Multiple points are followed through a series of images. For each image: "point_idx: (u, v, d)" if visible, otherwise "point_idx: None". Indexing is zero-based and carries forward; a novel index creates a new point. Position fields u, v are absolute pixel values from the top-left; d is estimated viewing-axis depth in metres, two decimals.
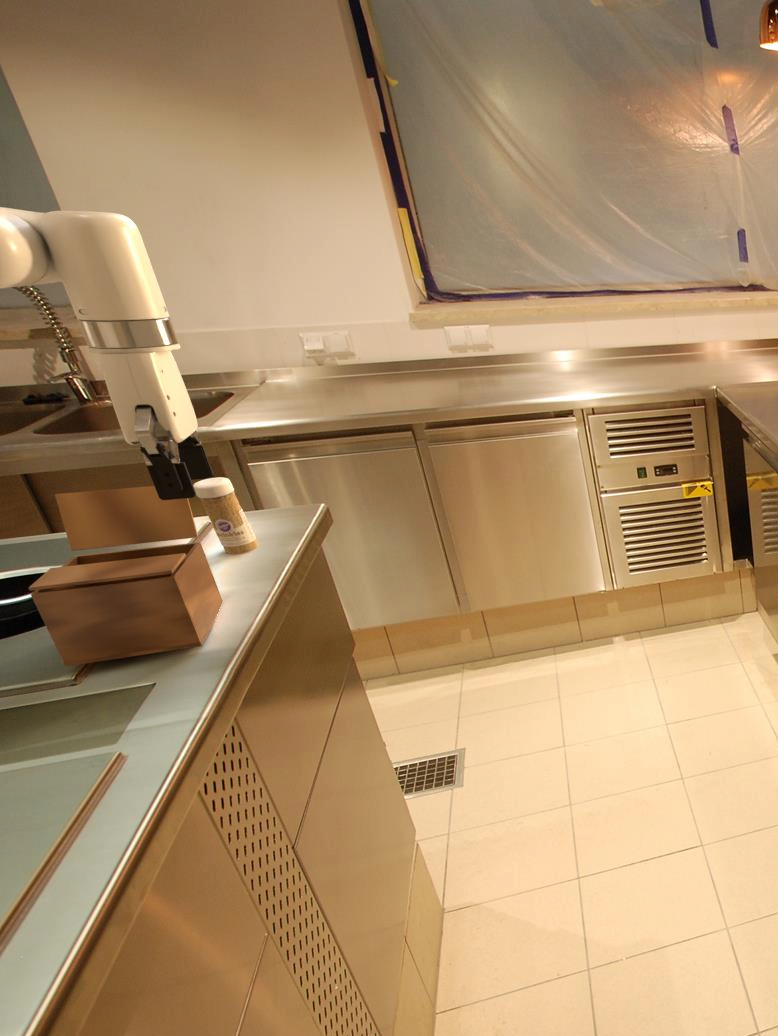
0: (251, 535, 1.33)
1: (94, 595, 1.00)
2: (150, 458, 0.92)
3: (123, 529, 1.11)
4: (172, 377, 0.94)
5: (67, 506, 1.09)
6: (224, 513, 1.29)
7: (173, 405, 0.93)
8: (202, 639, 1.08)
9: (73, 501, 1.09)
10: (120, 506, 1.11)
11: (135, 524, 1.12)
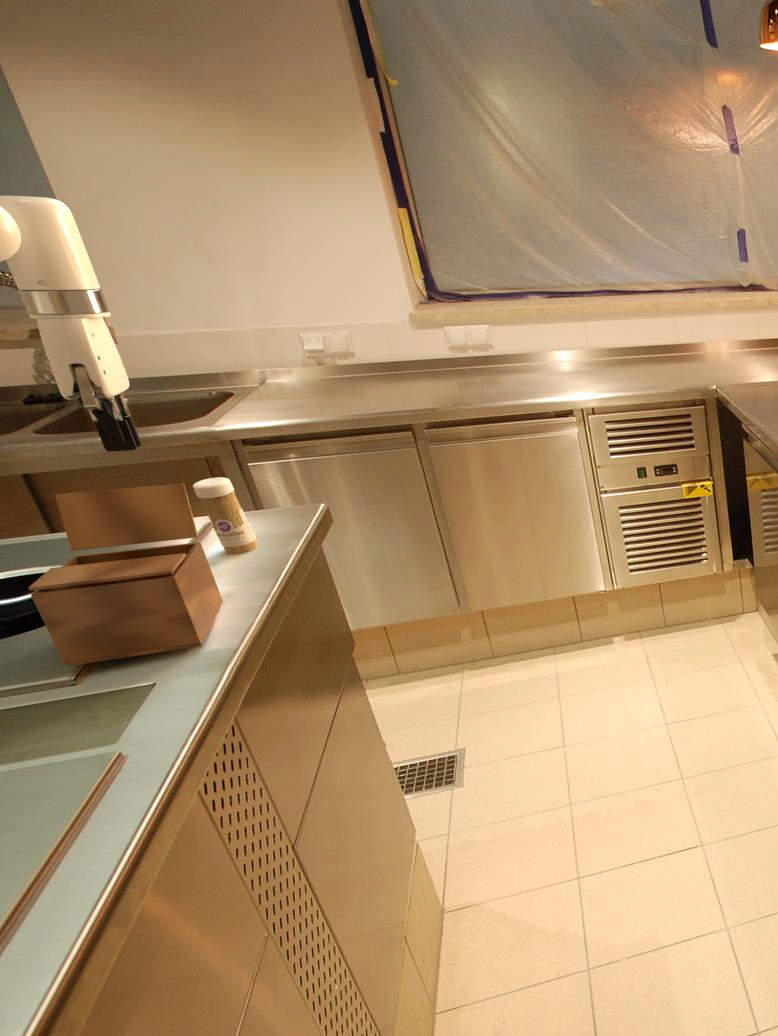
0: (251, 535, 1.33)
1: (94, 595, 1.00)
2: (96, 415, 1.10)
3: (123, 529, 1.11)
4: (103, 341, 1.09)
5: (67, 506, 1.09)
6: (224, 513, 1.29)
7: (103, 365, 1.08)
8: (202, 639, 1.08)
9: (73, 501, 1.09)
10: (120, 506, 1.11)
11: (135, 524, 1.12)
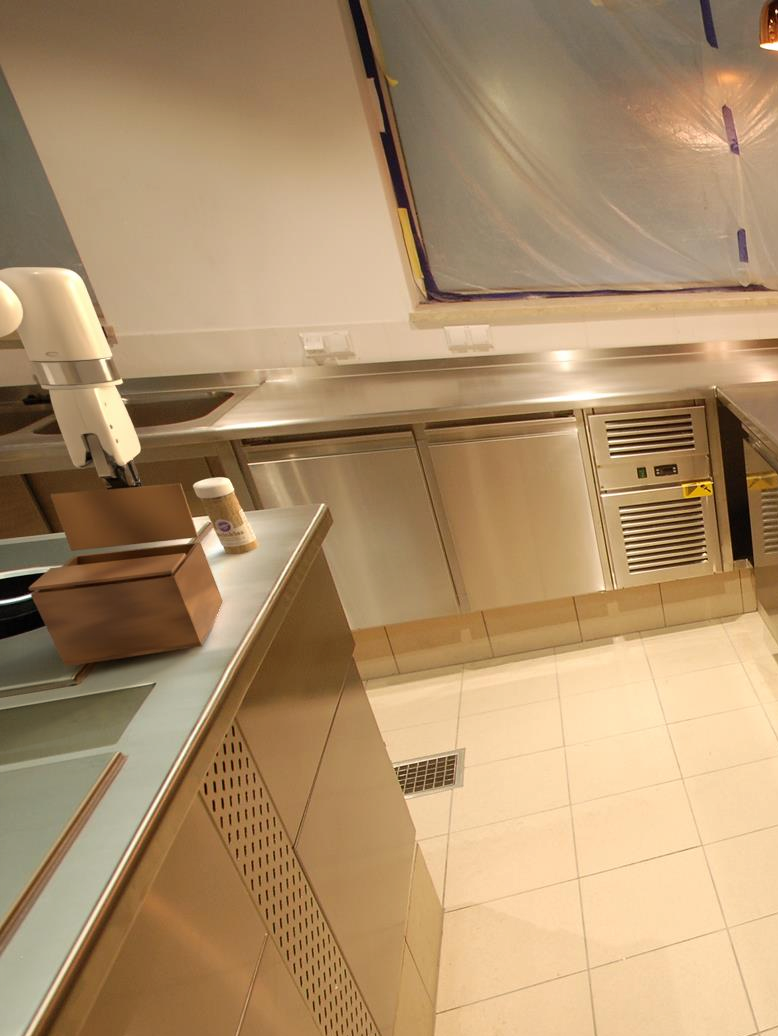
0: (251, 535, 1.33)
1: (94, 595, 1.00)
2: (109, 481, 1.09)
3: (122, 529, 1.11)
4: (115, 408, 1.08)
5: (63, 506, 1.08)
6: (224, 513, 1.29)
7: (115, 433, 1.07)
8: (202, 639, 1.08)
9: (69, 501, 1.08)
10: (117, 506, 1.10)
11: (134, 524, 1.11)
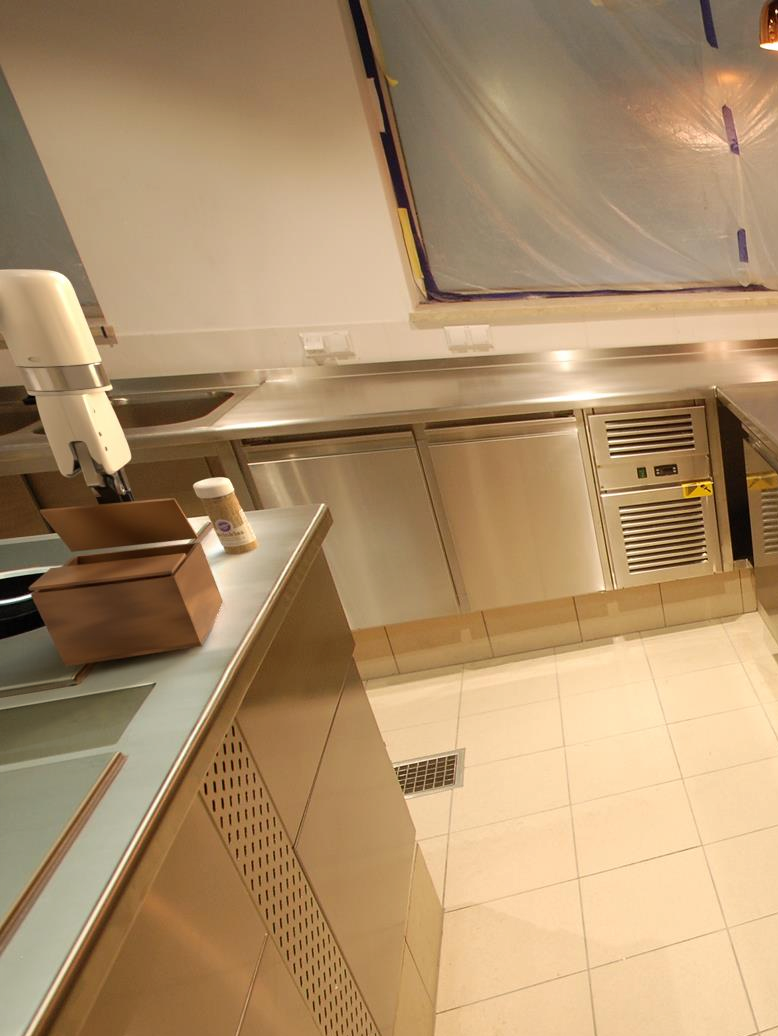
0: (251, 535, 1.33)
1: (94, 595, 1.00)
2: (98, 490, 1.06)
3: (120, 535, 1.10)
4: (104, 415, 1.04)
5: (56, 520, 1.05)
6: (224, 513, 1.29)
7: (105, 441, 1.04)
8: (202, 639, 1.08)
9: (61, 516, 1.05)
10: (112, 518, 1.08)
11: (132, 531, 1.10)
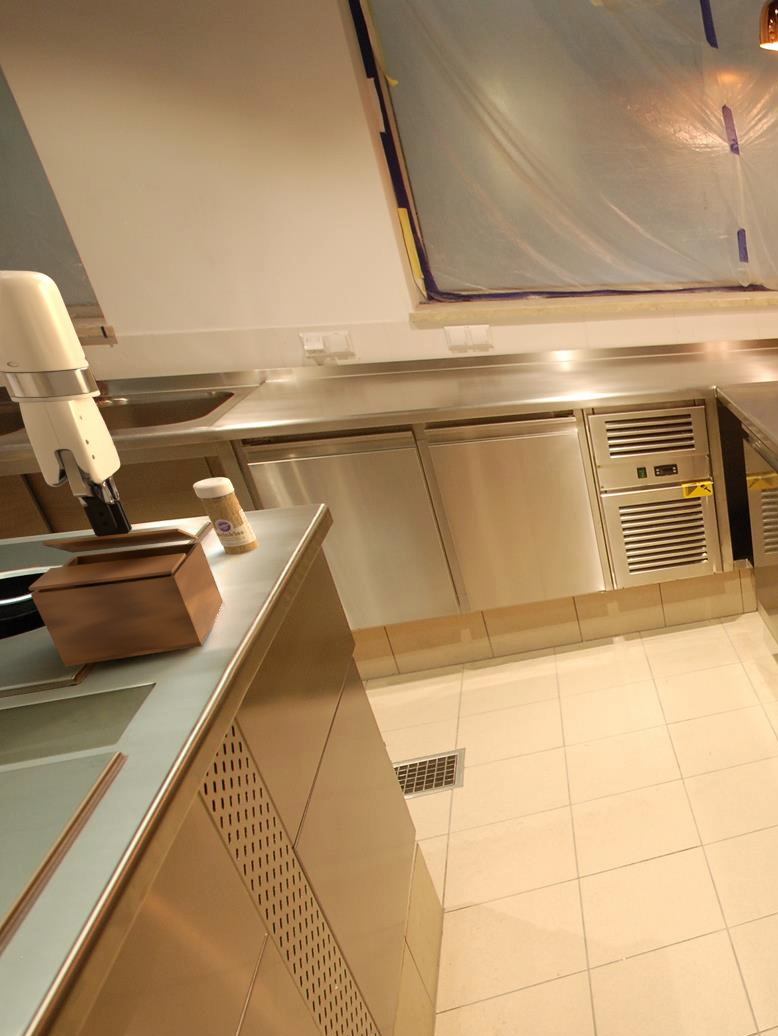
0: (251, 535, 1.33)
1: (94, 595, 1.00)
2: (85, 500, 1.02)
3: (122, 544, 1.10)
4: (92, 422, 1.01)
5: (59, 546, 1.04)
6: (224, 513, 1.29)
7: (92, 449, 1.00)
8: (202, 639, 1.08)
9: (65, 544, 1.04)
10: (115, 541, 1.07)
11: (133, 542, 1.10)
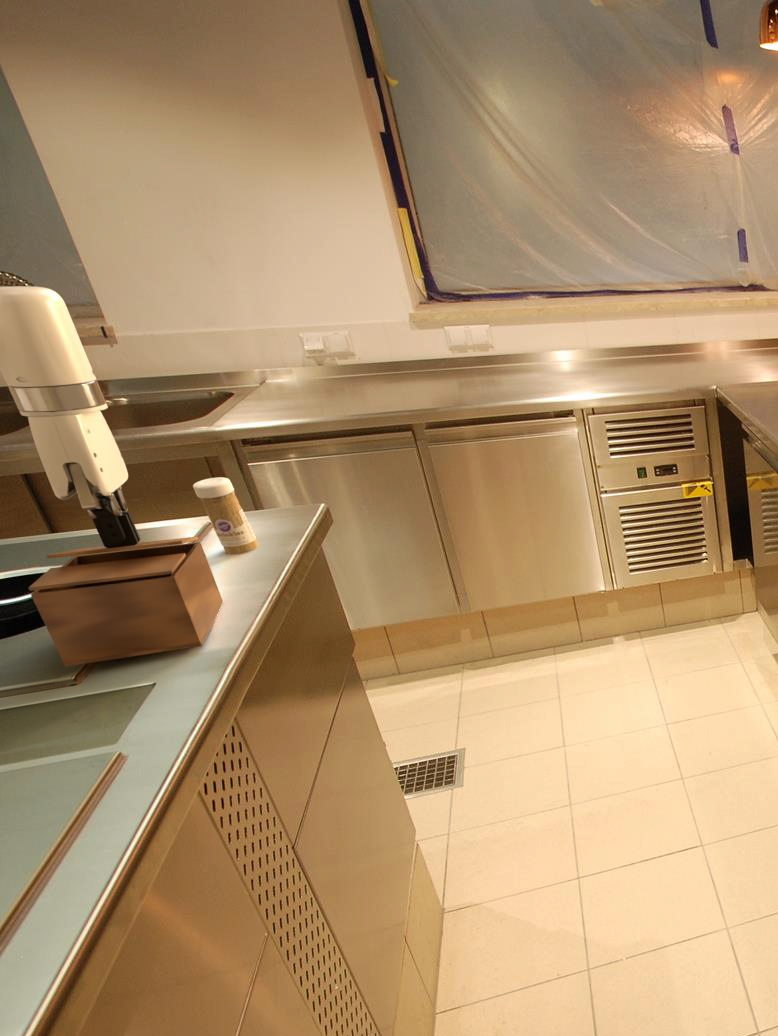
0: (251, 535, 1.33)
1: (94, 595, 1.00)
2: (94, 512, 1.03)
3: None
4: (99, 435, 1.02)
5: None
6: (224, 513, 1.29)
7: (100, 462, 1.01)
8: (202, 639, 1.08)
9: None
10: None
11: None
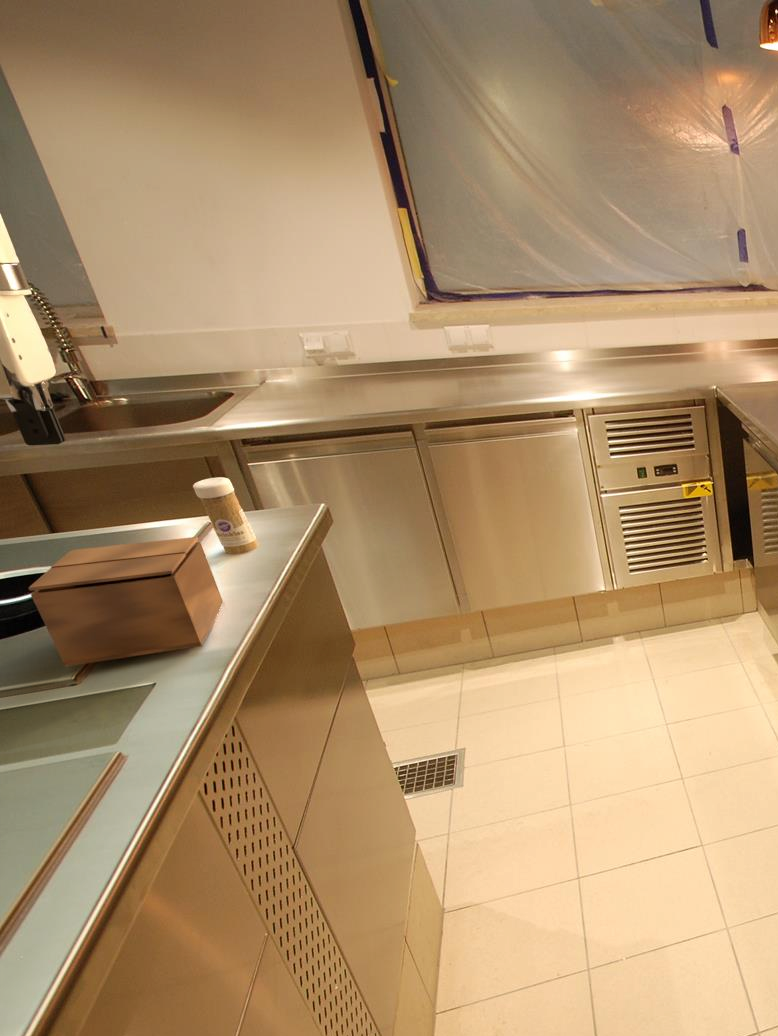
0: (251, 535, 1.33)
1: (94, 595, 1.00)
2: (13, 404, 0.98)
3: None
4: (21, 322, 0.96)
5: None
6: (224, 513, 1.29)
7: (19, 349, 0.96)
8: (202, 639, 1.08)
9: None
10: None
11: None
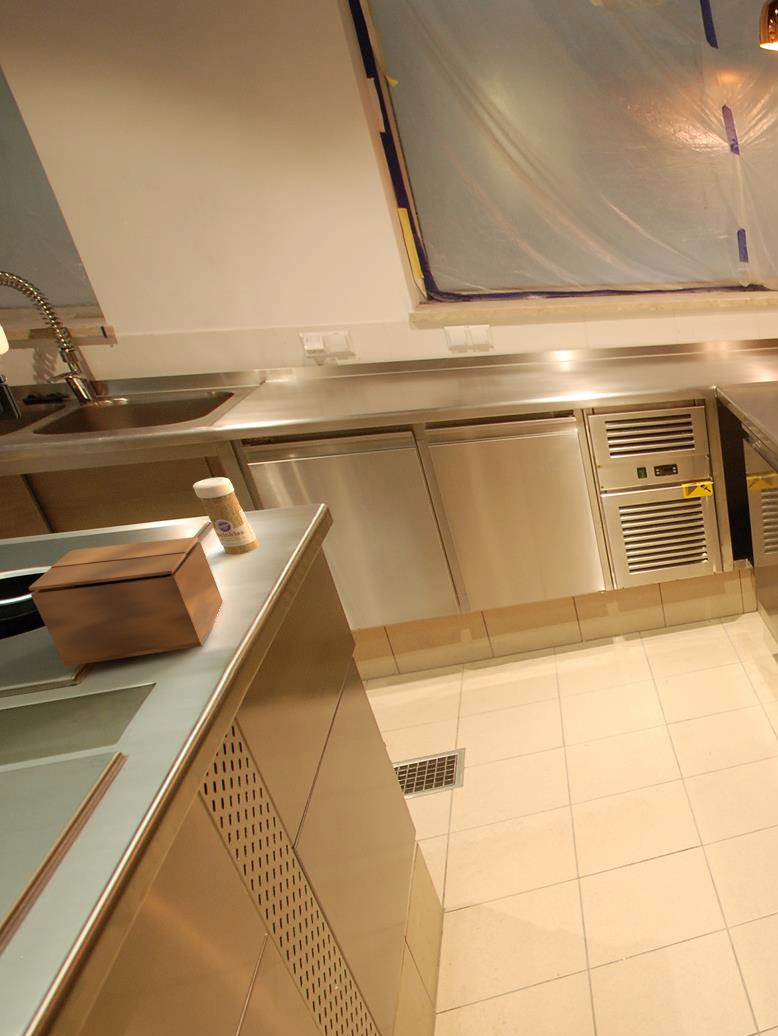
0: (251, 535, 1.33)
1: (94, 595, 1.00)
2: None
3: None
4: None
5: None
6: (224, 513, 1.29)
7: None
8: (202, 639, 1.08)
9: None
10: None
11: None
